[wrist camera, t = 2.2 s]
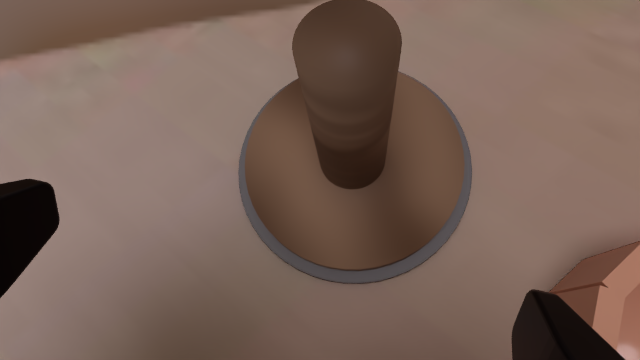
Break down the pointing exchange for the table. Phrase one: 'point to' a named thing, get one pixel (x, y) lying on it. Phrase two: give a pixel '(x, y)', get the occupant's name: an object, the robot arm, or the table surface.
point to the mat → (364, 275)
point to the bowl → (608, 296)
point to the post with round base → (353, 147)
